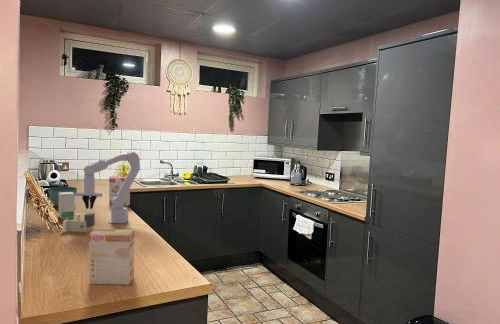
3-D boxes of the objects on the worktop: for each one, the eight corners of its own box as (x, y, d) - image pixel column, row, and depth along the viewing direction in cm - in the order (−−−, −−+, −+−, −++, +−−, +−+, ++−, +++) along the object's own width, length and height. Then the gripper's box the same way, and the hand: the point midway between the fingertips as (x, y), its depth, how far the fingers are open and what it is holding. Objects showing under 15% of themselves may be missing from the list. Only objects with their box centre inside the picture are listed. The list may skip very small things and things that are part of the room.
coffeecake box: (134, 277, 146) (134, 229, 144) (129, 285, 139) (129, 234, 137) (95, 276, 145) (95, 228, 143) (88, 284, 138) (88, 233, 136)
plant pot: (49, 203, 266) (49, 187, 265) (77, 202, 274) (76, 186, 273) (47, 209, 250) (47, 191, 249) (77, 207, 258) (76, 190, 257)
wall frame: (80, 223, 218) (80, 213, 217) (65, 232, 200) (65, 220, 200) (77, 223, 218) (77, 212, 217) (62, 232, 200) (62, 220, 200)
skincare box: (60, 219, 226) (60, 194, 225) (58, 217, 231) (57, 192, 230) (75, 217, 231) (75, 193, 230) (72, 215, 236) (72, 191, 235)
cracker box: (108, 205, 269) (108, 176, 267) (113, 203, 275) (114, 175, 273) (125, 207, 265) (125, 178, 263) (130, 205, 271) (130, 177, 269)
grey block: (94, 223, 221) (94, 213, 220) (90, 225, 216) (90, 215, 215) (88, 222, 221) (88, 213, 220) (84, 225, 216) (84, 215, 215)
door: (84, 232, 200) (84, 222, 200) (67, 230, 202) (67, 220, 201) (86, 231, 202) (86, 221, 202) (69, 229, 204) (69, 220, 203)
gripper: (73, 186, 212) (73, 209, 213) (99, 187, 212) (99, 210, 213) (79, 184, 219) (79, 206, 220) (103, 185, 219) (103, 207, 221)
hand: (89, 208), depth 217 cm, fingers closed
